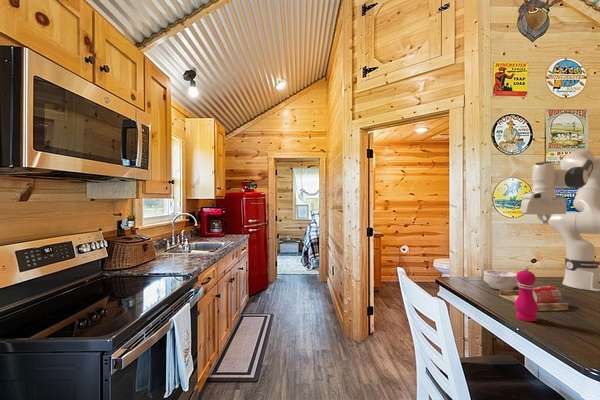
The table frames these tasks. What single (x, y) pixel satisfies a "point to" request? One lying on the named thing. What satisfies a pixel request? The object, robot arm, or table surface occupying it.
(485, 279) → the paper bowls
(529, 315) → the pepper mill
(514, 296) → the board
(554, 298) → the soda can
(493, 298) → the table surface
